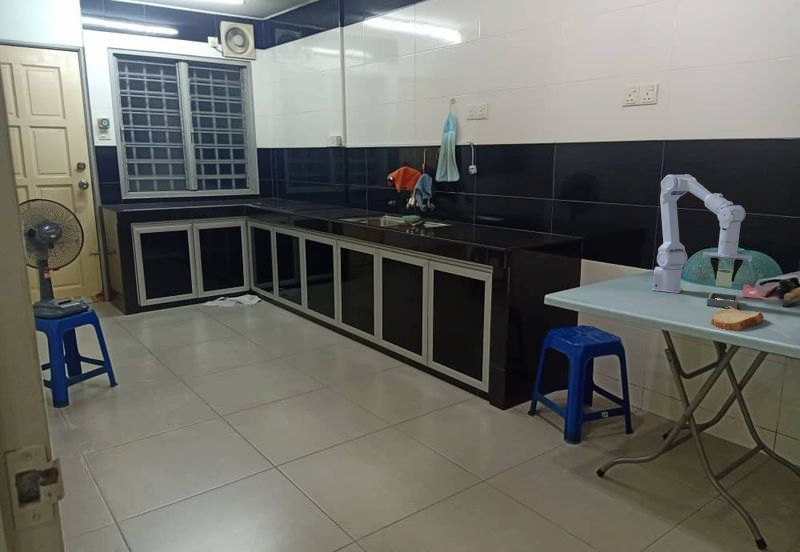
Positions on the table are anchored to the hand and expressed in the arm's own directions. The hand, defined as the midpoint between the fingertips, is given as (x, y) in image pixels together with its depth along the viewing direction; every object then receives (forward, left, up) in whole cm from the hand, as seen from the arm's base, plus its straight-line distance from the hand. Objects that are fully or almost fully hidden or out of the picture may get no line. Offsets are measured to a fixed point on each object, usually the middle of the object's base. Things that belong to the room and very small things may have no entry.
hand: (724, 280), depth 193 cm
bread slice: (+6, -23, -9) cm, 26 cm away
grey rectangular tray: (0, 0, -8) cm, 9 cm away
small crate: (0, 0, -2) cm, 2 cm away
